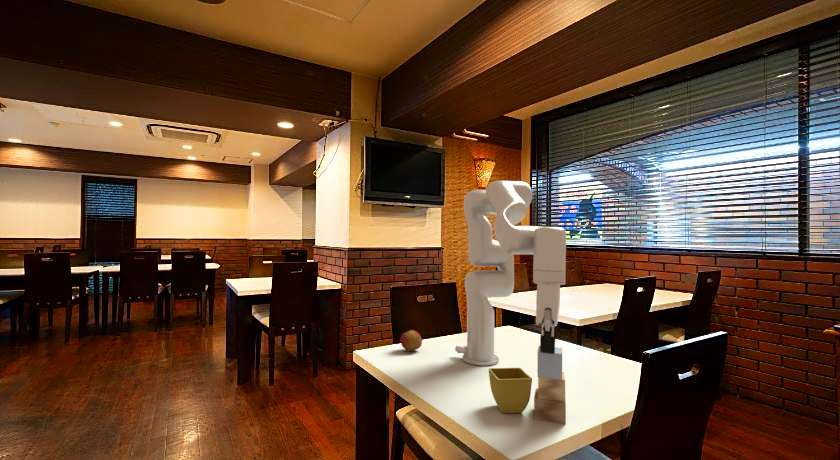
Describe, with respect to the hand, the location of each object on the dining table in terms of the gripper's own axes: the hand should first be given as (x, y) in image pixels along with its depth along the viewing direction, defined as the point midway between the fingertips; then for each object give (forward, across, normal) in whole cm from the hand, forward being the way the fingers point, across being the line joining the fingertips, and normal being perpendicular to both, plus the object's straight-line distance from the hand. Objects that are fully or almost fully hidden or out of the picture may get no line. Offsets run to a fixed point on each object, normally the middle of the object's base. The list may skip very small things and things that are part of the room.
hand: (548, 347), depth 95 cm
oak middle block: (+11, +1, +1) cm, 11 cm away
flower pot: (+17, +1, -9) cm, 19 cm away
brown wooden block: (+16, +1, +1) cm, 16 cm away
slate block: (+6, +1, +1) cm, 6 cm away
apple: (+18, -38, -50) cm, 66 cm away
